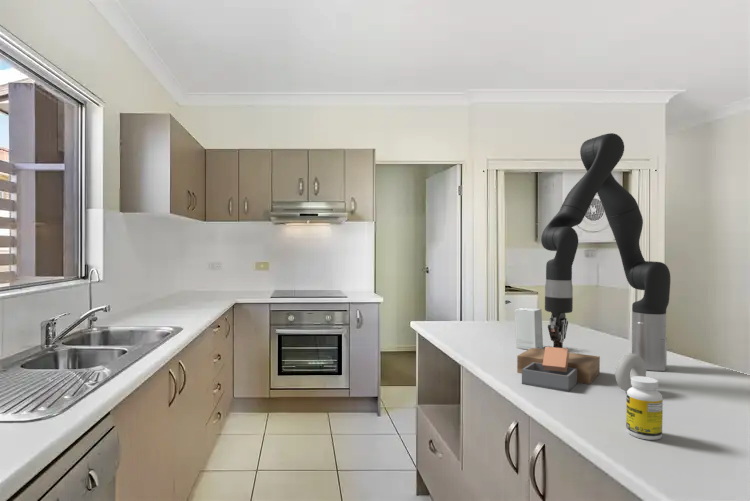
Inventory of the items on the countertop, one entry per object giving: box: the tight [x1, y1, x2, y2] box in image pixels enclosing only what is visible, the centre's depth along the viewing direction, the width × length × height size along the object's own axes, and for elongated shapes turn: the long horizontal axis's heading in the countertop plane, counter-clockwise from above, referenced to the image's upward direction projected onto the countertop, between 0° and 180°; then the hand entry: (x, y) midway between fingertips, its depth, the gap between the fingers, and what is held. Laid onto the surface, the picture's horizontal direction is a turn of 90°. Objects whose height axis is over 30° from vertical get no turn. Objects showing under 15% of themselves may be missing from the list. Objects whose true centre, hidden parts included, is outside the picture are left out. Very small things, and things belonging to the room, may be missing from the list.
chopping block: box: [516, 348, 601, 385], centre depth 138 cm, size 20×14×5 cm
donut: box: [614, 352, 647, 393], centre depth 120 cm, size 10×3×10 cm, turn 117°
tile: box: [543, 346, 570, 372], centre depth 130 cm, size 6×6×2 cm
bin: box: [521, 362, 578, 393], centre depth 127 cm, size 12×10×4 cm
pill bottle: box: [625, 376, 664, 441], centre depth 92 cm, size 6×6×11 cm
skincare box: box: [514, 307, 544, 351], centre depth 172 cm, size 8×6×15 cm
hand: (558, 354), depth 134 cm, fingers closed
